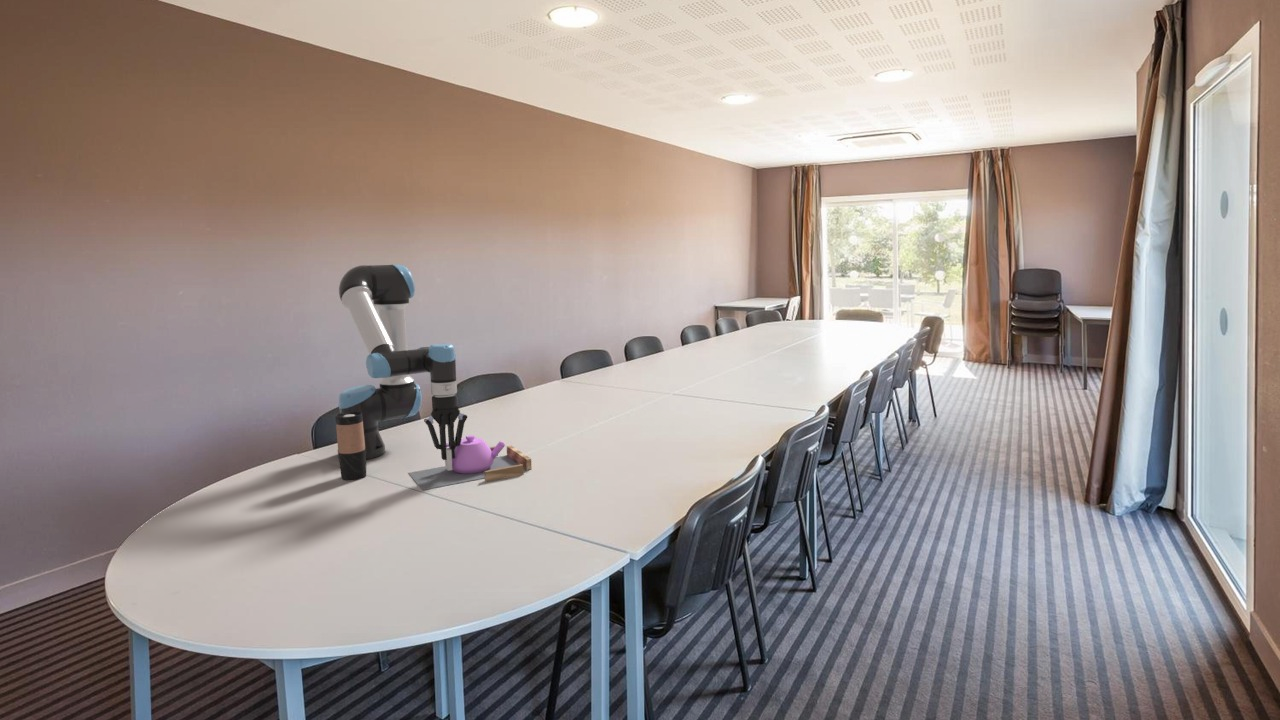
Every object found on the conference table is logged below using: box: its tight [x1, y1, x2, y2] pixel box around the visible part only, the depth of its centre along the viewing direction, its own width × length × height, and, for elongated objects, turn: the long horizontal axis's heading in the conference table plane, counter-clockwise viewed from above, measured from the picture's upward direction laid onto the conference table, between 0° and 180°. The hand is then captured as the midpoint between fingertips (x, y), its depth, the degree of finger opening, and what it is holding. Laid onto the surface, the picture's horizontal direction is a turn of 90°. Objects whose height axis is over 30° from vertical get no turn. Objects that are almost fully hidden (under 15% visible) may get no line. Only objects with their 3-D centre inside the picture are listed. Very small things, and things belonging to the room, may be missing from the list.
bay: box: [484, 444, 533, 483], centre depth 209 cm, size 24×16×4 cm, turn 32°
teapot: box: [446, 434, 506, 474], centre depth 206 cm, size 14×20×11 cm
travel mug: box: [335, 412, 367, 482], centre depth 198 cm, size 8×8×20 cm
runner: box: [408, 454, 531, 491], centre depth 204 cm, size 18×34×1 cm, turn 122°
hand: (448, 469), depth 200 cm, fingers closed
